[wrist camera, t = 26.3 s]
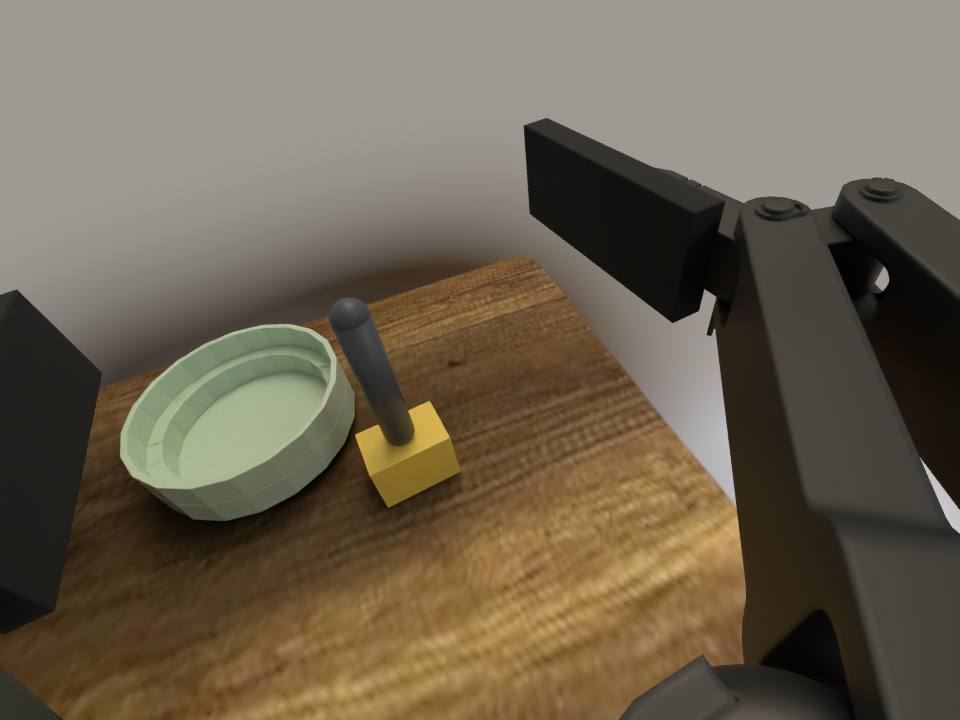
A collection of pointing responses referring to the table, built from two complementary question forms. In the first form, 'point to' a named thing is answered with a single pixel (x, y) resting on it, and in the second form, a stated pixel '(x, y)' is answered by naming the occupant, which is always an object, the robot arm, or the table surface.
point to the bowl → (240, 422)
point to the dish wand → (391, 414)
